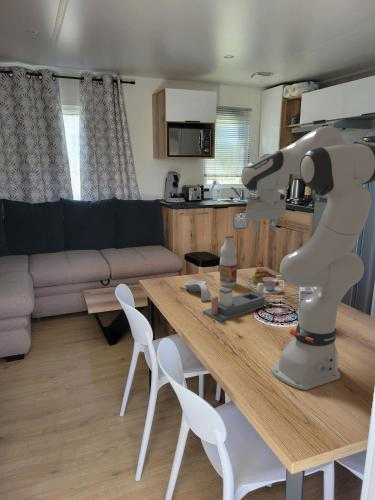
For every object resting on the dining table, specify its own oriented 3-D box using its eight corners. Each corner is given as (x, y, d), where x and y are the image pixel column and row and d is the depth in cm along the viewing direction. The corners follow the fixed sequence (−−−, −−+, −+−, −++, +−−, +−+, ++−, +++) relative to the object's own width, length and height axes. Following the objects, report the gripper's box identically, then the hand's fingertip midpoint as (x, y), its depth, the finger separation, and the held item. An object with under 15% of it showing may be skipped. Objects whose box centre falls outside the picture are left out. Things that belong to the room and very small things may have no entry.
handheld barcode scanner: (181, 287, 200) (181, 275, 198) (202, 285, 203) (202, 273, 202) (195, 302, 178) (195, 288, 176) (217, 300, 181) (217, 286, 179)
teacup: (254, 288, 197) (254, 277, 196) (273, 285, 201) (274, 275, 200) (266, 295, 186) (267, 284, 185) (286, 292, 190) (287, 281, 189)
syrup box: (312, 324, 153) (315, 291, 149) (298, 323, 154) (300, 290, 151) (311, 318, 158) (313, 286, 155) (296, 317, 159) (299, 286, 156)
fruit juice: (219, 281, 209) (220, 233, 203) (236, 281, 208) (237, 233, 202) (219, 286, 200) (220, 236, 194) (236, 287, 199) (238, 236, 193)
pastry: (260, 277, 217) (260, 264, 215) (281, 283, 206) (282, 269, 204) (245, 281, 209) (246, 268, 207) (267, 288, 198) (268, 274, 196)
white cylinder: (225, 313, 162) (225, 291, 160) (219, 310, 165) (219, 289, 163) (231, 310, 164) (232, 289, 162) (225, 308, 168) (226, 287, 165)
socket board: (220, 321, 156) (220, 301, 153) (202, 312, 165) (202, 294, 163) (272, 304, 175) (273, 286, 172) (253, 297, 184) (254, 280, 182)
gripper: (253, 198, 137) (252, 234, 140) (289, 195, 149) (287, 228, 152) (241, 197, 142) (240, 232, 145) (276, 194, 154) (275, 226, 157)
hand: (264, 230), depth 148 cm, fingers open, 8 cm apart
